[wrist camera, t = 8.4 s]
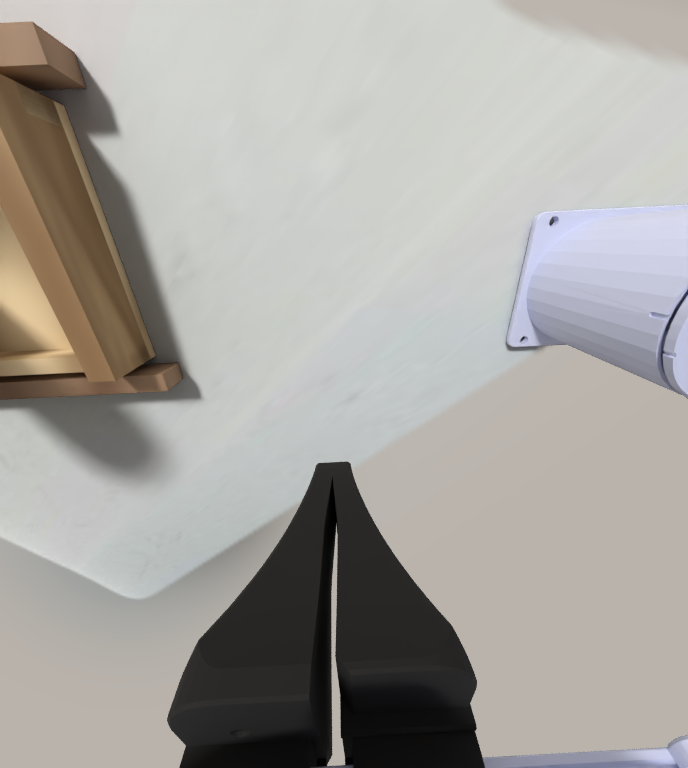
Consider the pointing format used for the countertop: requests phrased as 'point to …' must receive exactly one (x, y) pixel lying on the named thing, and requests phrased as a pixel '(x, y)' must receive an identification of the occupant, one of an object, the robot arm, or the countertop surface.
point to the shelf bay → (47, 72)
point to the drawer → (58, 253)
